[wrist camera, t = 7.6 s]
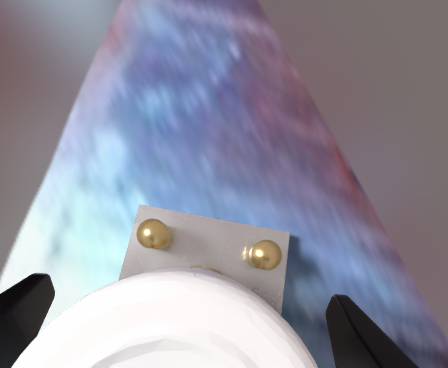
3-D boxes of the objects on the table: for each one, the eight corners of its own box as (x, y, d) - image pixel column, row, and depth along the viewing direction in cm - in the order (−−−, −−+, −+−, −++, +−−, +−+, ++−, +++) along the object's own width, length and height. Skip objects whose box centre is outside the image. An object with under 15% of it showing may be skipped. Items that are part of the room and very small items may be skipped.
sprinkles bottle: (196, 366, 15) (111, 1073, 2) (144, 303, 16) (-167, 498, 3) (253, 305, 16) (445, 488, 3) (202, 248, 17) (178, 199, 4)
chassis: (266, 404, 15) (282, 445, 12) (98, 373, 15) (66, 405, 12) (285, 233, 18) (302, 227, 15) (143, 207, 18) (128, 195, 15)
